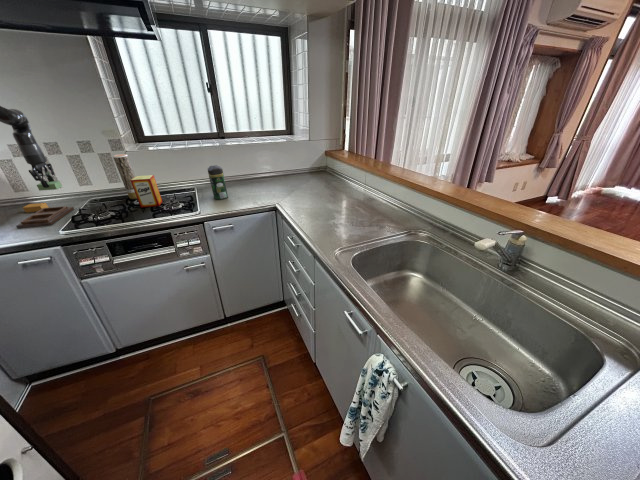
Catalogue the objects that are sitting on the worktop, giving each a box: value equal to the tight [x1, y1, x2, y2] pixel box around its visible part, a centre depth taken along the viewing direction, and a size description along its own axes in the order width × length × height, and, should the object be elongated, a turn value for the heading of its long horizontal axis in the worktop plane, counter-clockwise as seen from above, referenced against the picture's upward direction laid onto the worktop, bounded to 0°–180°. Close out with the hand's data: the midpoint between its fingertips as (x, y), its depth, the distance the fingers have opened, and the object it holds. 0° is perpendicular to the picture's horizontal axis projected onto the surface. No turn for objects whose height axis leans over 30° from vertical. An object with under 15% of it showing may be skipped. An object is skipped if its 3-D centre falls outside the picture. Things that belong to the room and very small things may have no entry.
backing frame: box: [15, 205, 75, 229], centre depth 137 cm, size 14×20×3 cm
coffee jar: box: [207, 164, 229, 200], centre depth 155 cm, size 10×8×19 cm
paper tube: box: [112, 153, 138, 200], centre depth 155 cm, size 7×7×25 cm
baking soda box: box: [130, 174, 163, 209], centre depth 147 cm, size 10×6×16 cm
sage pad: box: [36, 180, 63, 192], centre depth 142 cm, size 8×5×3 cm, turn 103°
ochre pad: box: [22, 202, 50, 213], centre depth 146 cm, size 8×5×3 cm, turn 103°
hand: (50, 185), depth 142 cm, fingers closed on sage pad, 5 cm apart
